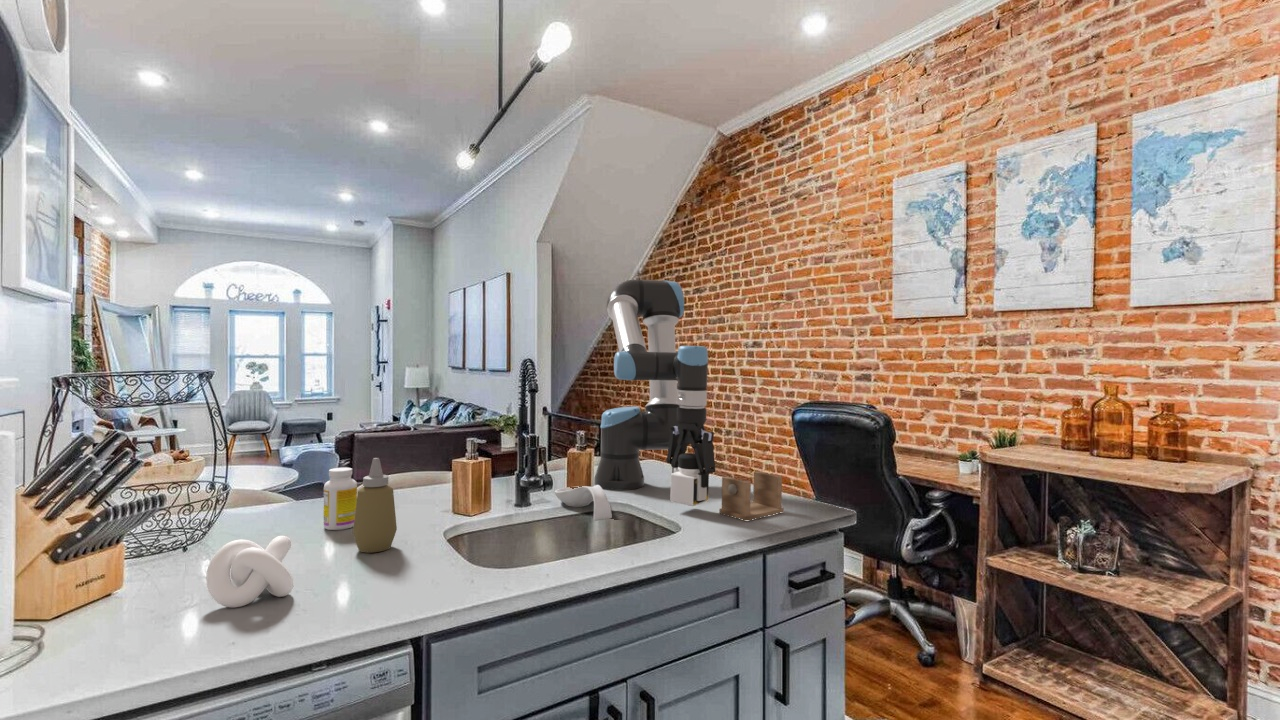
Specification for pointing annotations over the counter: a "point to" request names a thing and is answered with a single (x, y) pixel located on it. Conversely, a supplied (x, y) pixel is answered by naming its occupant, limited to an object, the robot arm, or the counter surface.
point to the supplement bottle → (340, 499)
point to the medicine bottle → (686, 481)
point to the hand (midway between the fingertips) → (689, 495)
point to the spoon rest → (587, 499)
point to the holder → (764, 496)
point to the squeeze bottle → (375, 512)
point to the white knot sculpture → (248, 571)
